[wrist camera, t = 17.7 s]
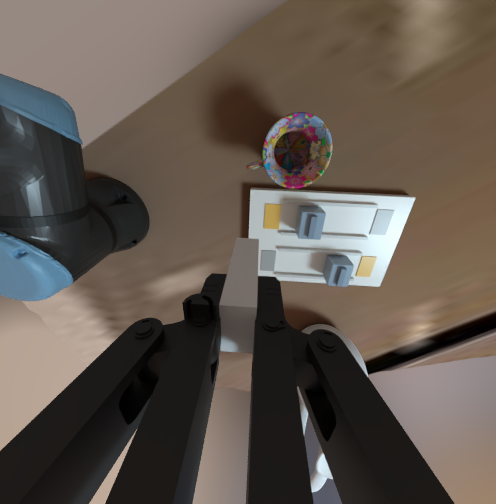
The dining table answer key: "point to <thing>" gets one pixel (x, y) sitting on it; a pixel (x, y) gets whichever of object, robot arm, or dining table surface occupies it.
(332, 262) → the tab
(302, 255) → the switch board
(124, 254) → the dining table surface
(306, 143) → the mug
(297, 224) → the tab
